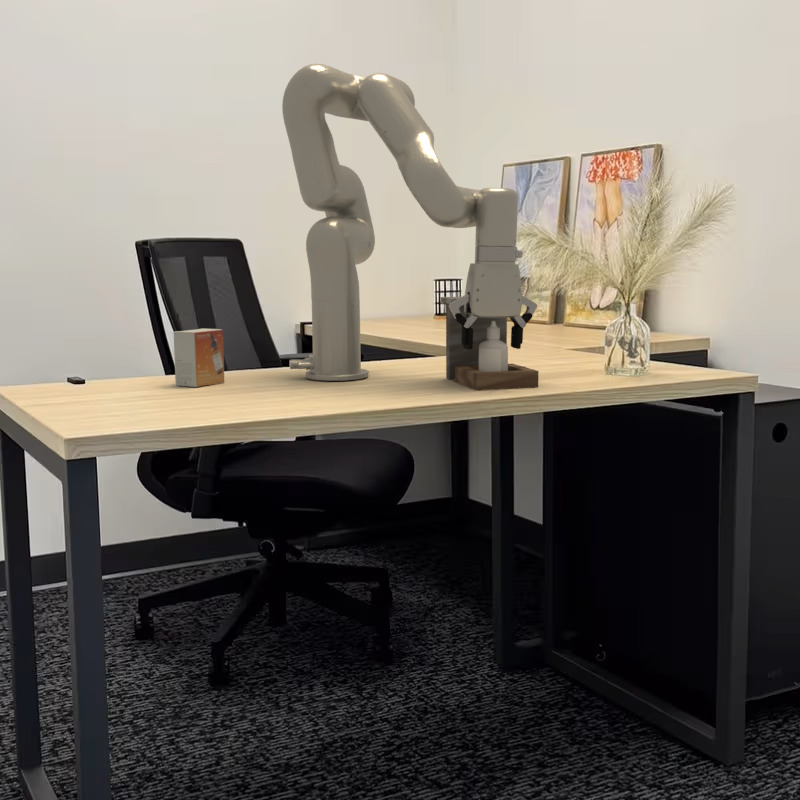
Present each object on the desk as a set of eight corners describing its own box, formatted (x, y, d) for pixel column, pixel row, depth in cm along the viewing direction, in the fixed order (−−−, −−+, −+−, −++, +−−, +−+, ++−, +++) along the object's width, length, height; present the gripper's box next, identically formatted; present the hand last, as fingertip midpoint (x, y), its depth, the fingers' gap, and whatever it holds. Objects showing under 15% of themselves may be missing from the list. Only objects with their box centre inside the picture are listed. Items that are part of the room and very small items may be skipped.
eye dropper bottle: (489, 387, 179) (489, 322, 177) (476, 383, 184) (476, 320, 182) (510, 385, 181) (510, 321, 179) (496, 381, 186) (497, 319, 184)
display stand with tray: (543, 386, 179) (544, 299, 176) (472, 390, 175) (472, 301, 172) (506, 375, 195) (506, 295, 193) (440, 378, 191) (440, 297, 189)
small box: (196, 388, 182) (193, 332, 180) (174, 386, 185) (172, 330, 183) (225, 382, 188) (223, 328, 187) (204, 380, 191) (202, 327, 190)
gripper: (529, 256, 185) (526, 345, 188) (444, 255, 180) (441, 346, 183) (546, 257, 178) (542, 350, 181) (458, 256, 173) (455, 351, 176)
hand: (491, 348), depth 182 cm, fingers open, 9 cm apart
